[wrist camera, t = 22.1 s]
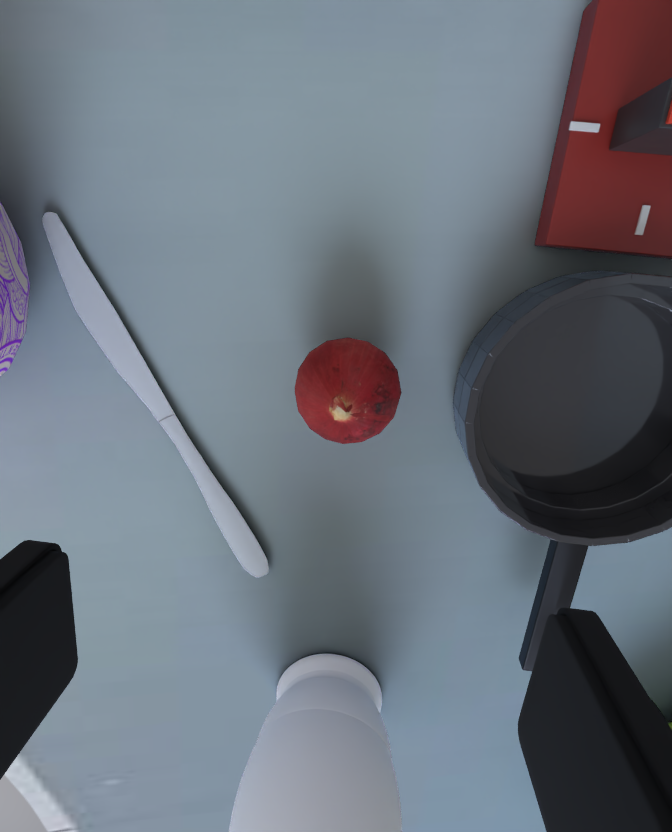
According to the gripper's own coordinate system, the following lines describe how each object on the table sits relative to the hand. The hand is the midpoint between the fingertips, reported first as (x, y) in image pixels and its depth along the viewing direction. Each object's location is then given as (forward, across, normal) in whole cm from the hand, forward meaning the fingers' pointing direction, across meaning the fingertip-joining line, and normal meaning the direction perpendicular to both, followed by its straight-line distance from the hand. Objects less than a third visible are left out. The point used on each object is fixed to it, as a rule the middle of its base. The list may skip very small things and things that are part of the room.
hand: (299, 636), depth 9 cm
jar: (+22, -1, +26) cm, 34 cm away
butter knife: (+22, +12, +4) cm, 26 cm away
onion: (+22, 0, 0) cm, 23 cm away
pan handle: (+19, -14, +12) cm, 27 cm away
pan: (+22, -14, 0) cm, 26 cm away
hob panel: (+22, -14, -14) cm, 30 cm away
